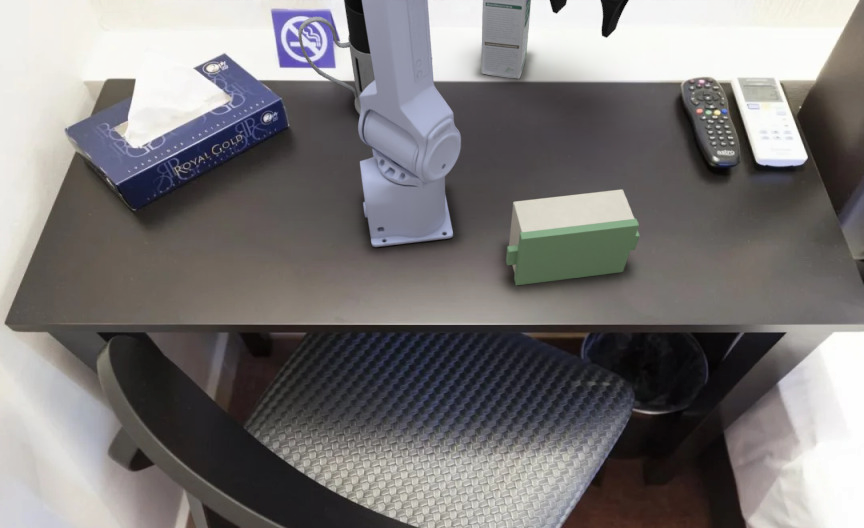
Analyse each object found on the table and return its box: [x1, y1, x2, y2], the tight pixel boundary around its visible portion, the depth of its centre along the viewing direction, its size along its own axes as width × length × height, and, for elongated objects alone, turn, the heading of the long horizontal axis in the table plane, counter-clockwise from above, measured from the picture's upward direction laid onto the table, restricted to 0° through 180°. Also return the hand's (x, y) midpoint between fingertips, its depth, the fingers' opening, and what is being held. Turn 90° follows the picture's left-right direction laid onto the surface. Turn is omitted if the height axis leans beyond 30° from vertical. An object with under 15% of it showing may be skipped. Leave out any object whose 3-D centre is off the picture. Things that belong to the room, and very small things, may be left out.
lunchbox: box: [505, 189, 640, 286], centre depth 73 cm, size 14×5×8 cm, turn 99°
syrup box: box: [480, 0, 532, 80], centre depth 89 cm, size 6×6×14 cm
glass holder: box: [297, 0, 375, 115], centre depth 84 cm, size 9×14×15 cm, turn 108°
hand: (583, 20), depth 84 cm, fingers open, 7 cm apart
